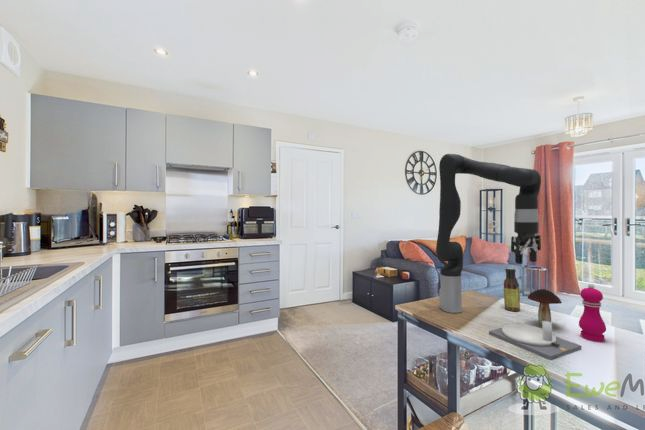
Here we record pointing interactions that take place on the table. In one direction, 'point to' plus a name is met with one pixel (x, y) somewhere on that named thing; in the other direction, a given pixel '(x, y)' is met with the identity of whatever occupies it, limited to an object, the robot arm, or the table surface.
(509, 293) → the sauce bottle
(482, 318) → the table surface
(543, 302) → the decorative mushroom
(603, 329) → the pepper mill
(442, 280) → the robot arm
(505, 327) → the cam dial
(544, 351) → the dial base
